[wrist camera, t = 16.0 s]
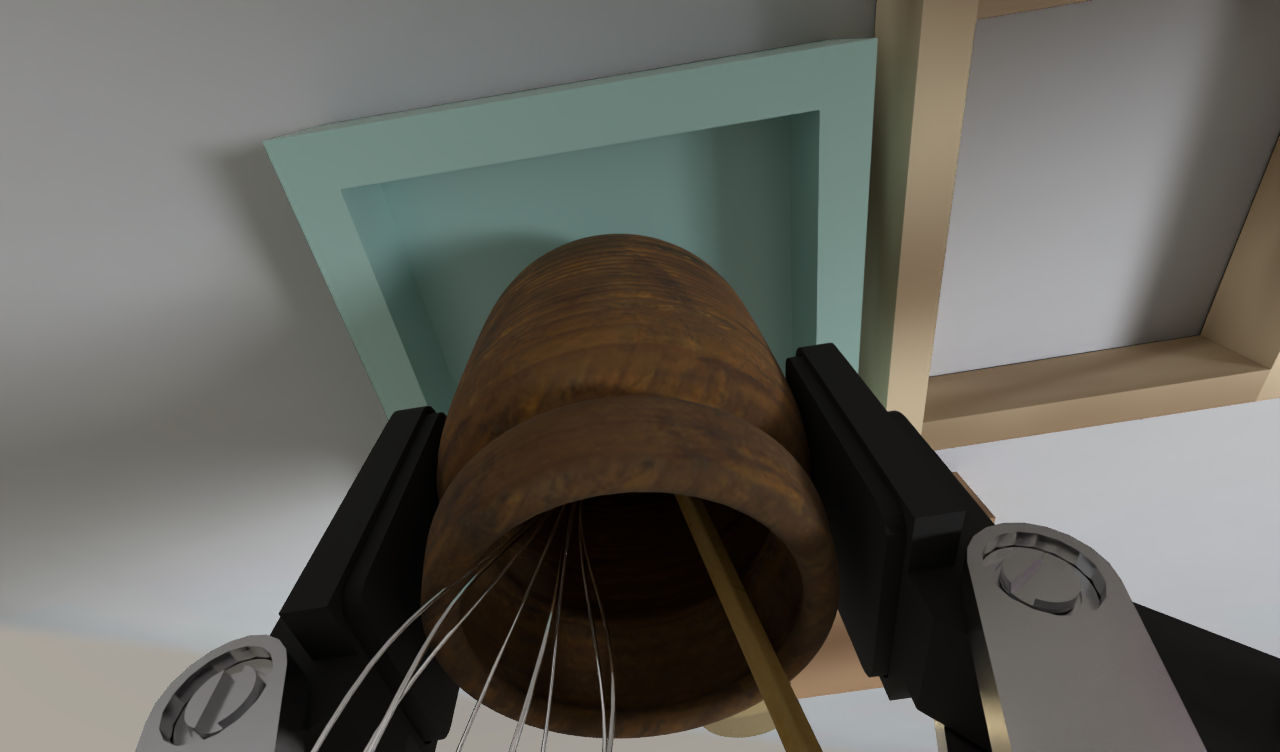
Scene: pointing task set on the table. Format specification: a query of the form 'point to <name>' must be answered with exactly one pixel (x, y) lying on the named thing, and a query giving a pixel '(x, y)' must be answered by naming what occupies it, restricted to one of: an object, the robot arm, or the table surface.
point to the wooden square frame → (915, 251)
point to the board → (844, 655)
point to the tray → (593, 200)
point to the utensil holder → (623, 508)
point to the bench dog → (744, 723)
